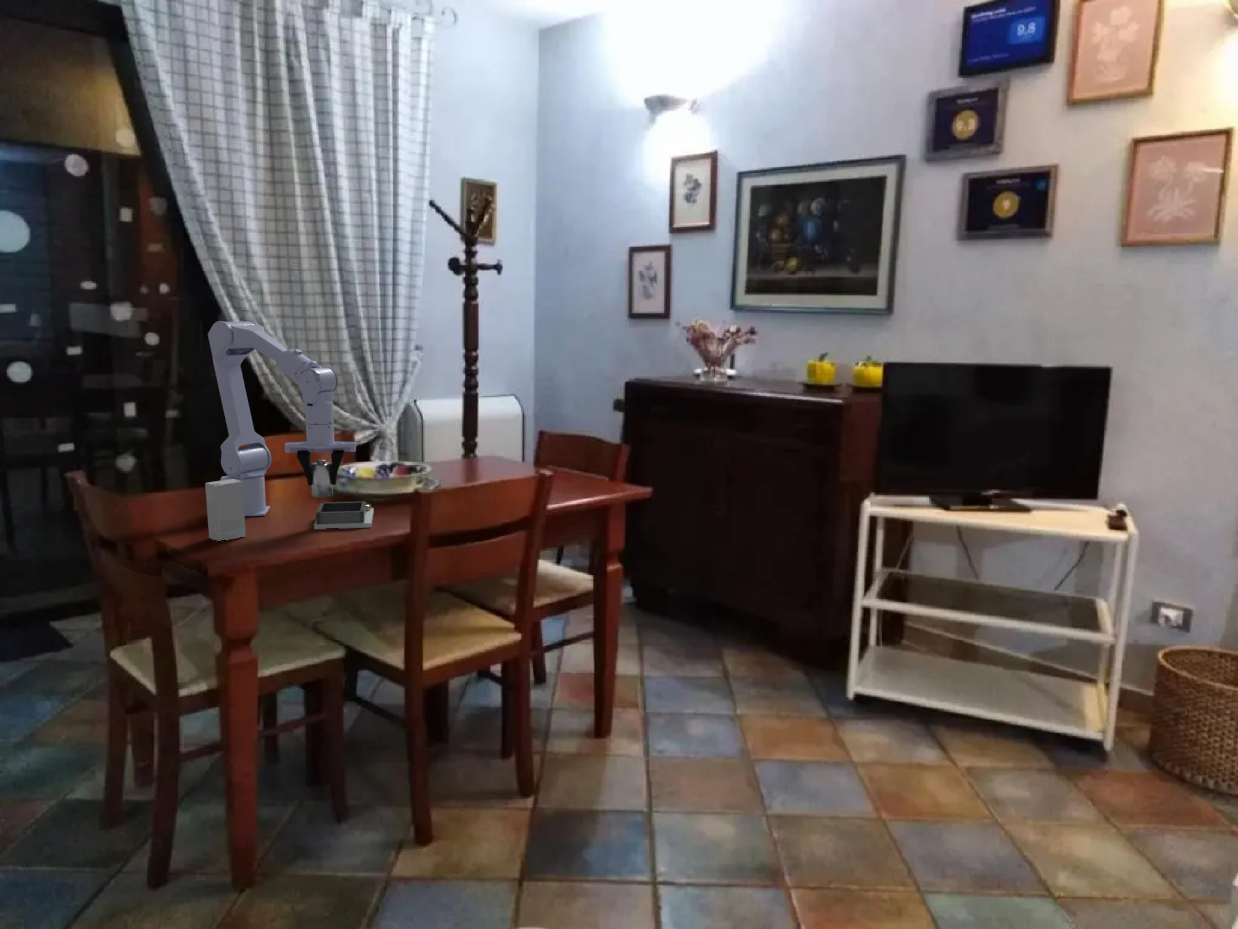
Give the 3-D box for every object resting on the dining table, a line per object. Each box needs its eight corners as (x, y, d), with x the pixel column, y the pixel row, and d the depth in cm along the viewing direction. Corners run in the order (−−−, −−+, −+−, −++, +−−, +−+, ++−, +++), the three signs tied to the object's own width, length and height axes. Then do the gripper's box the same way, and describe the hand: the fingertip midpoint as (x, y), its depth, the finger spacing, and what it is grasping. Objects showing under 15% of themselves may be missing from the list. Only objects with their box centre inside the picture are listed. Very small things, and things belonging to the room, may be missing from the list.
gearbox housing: (314, 529, 189) (313, 513, 188) (320, 513, 202) (319, 499, 201) (371, 527, 191) (370, 512, 191) (373, 512, 205) (373, 497, 204)
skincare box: (236, 533, 184) (233, 477, 181) (246, 537, 181) (243, 481, 179) (207, 538, 179) (203, 481, 177) (217, 543, 176) (214, 485, 174)
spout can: (310, 497, 188) (309, 462, 186) (314, 491, 194) (312, 457, 192) (332, 497, 189) (330, 462, 187) (334, 491, 195) (333, 456, 193)
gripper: (281, 425, 182) (284, 488, 184) (353, 425, 185) (355, 487, 188) (286, 421, 189) (289, 482, 191) (355, 420, 192) (357, 480, 194)
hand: (322, 484), depth 190 cm, fingers closed on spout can, 4 cm apart
